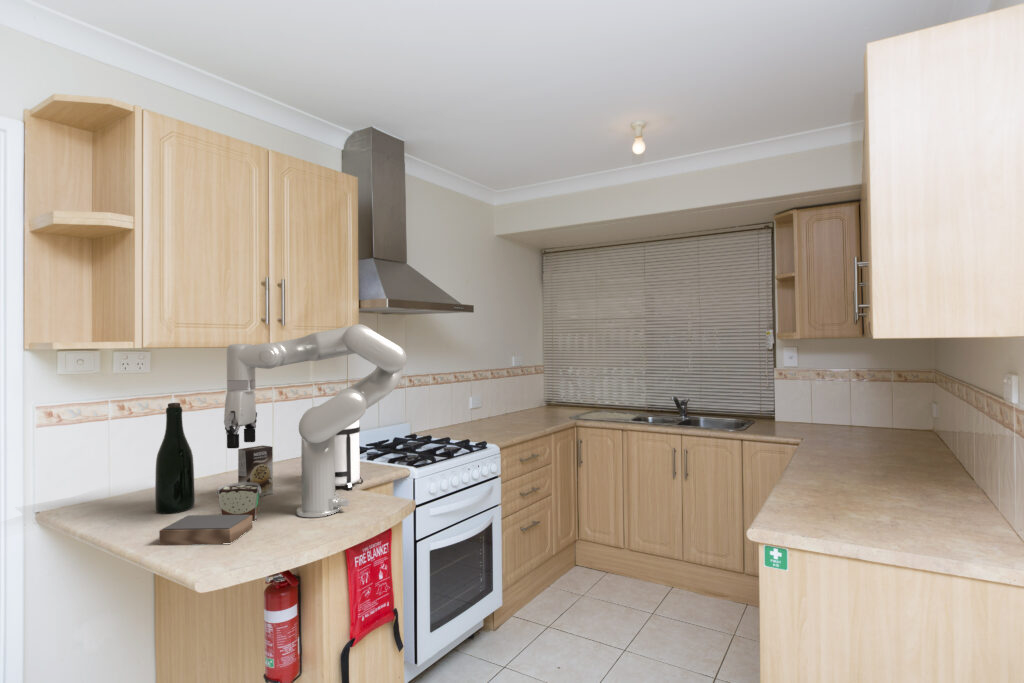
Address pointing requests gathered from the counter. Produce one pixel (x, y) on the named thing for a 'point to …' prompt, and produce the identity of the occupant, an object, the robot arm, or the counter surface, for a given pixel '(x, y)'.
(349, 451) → the coffee press
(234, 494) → the food container
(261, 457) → the coffee box
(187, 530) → the plinth
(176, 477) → the beer bottle
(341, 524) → the counter surface
